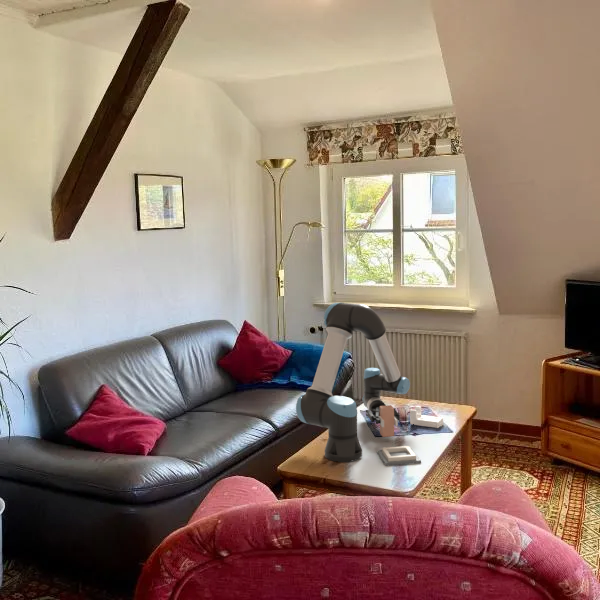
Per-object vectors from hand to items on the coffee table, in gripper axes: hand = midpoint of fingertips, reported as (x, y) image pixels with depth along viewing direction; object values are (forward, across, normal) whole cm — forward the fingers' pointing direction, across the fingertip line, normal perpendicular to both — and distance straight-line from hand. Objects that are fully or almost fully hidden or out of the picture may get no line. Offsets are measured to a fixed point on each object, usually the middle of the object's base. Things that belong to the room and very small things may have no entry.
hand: (389, 423), depth 277 cm
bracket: (-22, -23, -10) cm, 33 cm away
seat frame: (+14, 0, -10) cm, 17 cm away
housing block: (-5, 0, -6) cm, 8 cm away
